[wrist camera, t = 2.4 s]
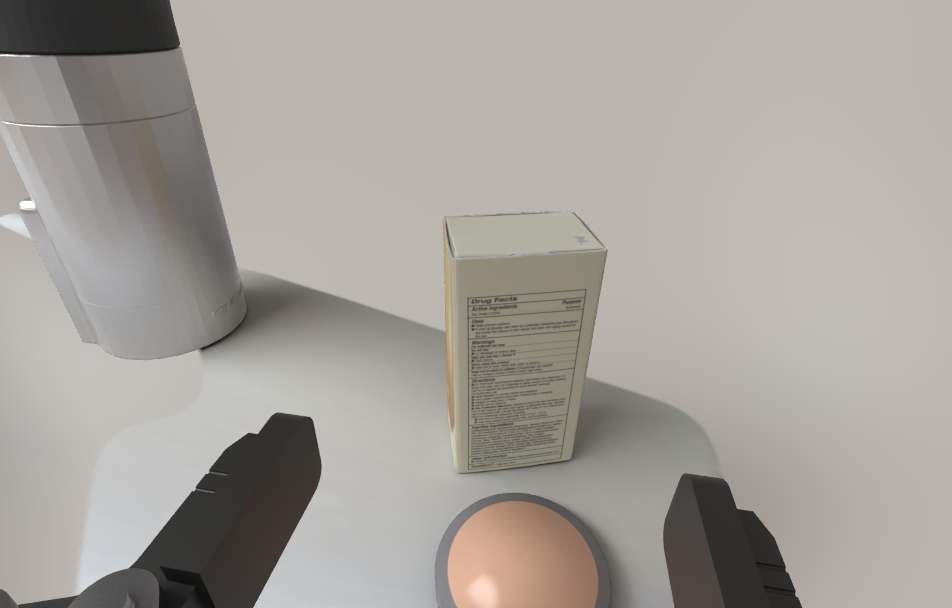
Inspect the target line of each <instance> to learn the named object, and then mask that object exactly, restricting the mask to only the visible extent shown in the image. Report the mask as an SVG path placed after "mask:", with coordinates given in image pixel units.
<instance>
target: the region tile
mask: <svg viewBox="0 0 952 608" xmlns="http://www.w3.org/2000/svg"><path fill="white" fill-rule="evenodd" d="M435 589H436V598H437V602H438V606H439V608H609V606H610V598H611V582H610V575H609V570H608V566H607V563H606V559H605V557H604V555H603V552H602V550H601V548H600V546H599V544H598V542H597V541H596V539H595V538H594V536H593V535H592V533H591V532H590V531H589V529H588V528H587V527H586V526H585V525H584V524H583V523H582V522H581V521H580V520H579V519H578V518H577V517H576V516H575V515H573V514H572V513H571V512H569V511H568V510H567V509H565V508H564V507H562V506H560V505H558V504H557V503H554V502H552V501H550V500H548V499H545V498H542V497H539V496H535V495H530V494H523V493H505V494H498V495H494V496H490V497H487V498H484V499H482V500H479V501H477V502H476V503H474V504H472V505H470V506H469V507H468V508H466V509H465V510H463V511H462V512H461V513H460V514H459V515H458V516H457V517H456V518H455V519H454V520H453V522H452V523H451V524H450V525H449V527H448V529H447V530H446V532H445V533H444V536H443V538H442V540H441V542H440V545H439V549H438V552H437V557H436V563H435Z"/></svg>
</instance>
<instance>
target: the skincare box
mask: <svg viewBox="0 0 952 608" xmlns="http://www.w3.org/2000/svg"><path fill="white" fill-rule="evenodd" d="M443 230H444V266H445V267H444V268H445V312H446V355H447V399H448V420H449V430H450V439H451V448H452V455H453V462H454V468H455V471H456V472H457V473H469V472H479V471H490V470H498V469H506V468H514V467H523V466H530V465H538V464H545V463H552V462H559V461H565V460H570V459H571V457H572V453H573V447H574V441H575V435H576V429H577V424H578V418H579V412H580V407H581V401H582V395H583V389H584V383H585V378H586V371H587V366H588V360H589V354H590V348H591V342H592V337H593V330H594V325H595V319H596V314H597V308H598V302H599V296H600V290H601V285H602V279H603V273H604V267H605V262H606V257H607V250H608V249H607V248H606V246H605V245H604V244H603V243H602V242H601V241H600V240H599V238H598V237H597V236H596V235H595V234H594V232H593V231H592V230H591V229H590V228H589V227H588V226H587V224H585V222H584V221H583V220H582V219H581V218H580V217H579V216H578V215H577V214H576V213H575V212H574V211H572V210H569V211H568V210H567V211H545V212H522V213H506V214H505V213H503V214H502V213H500V214H482V215H465V216H444V218H443Z"/></svg>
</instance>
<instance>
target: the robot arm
mask: <svg viewBox="0 0 952 608" xmlns="http://www.w3.org/2000/svg"><path fill="white" fill-rule="evenodd" d="M179 45H180V41H179V37H178V34H177V30H176V26H175V22H174V18H173V14H172V10H171V6H170V1H169V0H0V133H1V135H2V138H3V140H4V142H5V144H6V146H7V149H8V151H9V153H10V155H11V157H12V159H13V161H14V163H15V166H16V167H17V170H18V172H19V174H20V176H21V178H22V180H23V183H24V185H25V187H26V189H27V191H28V193H29V195H30V197H29V198H27V199H24V200H22V201H21V202H20V204H19V208H18V209H19V213H20V215H21V217H22V219H23V221H24V223H25V225H26V227H27V229H28V231H29V233H30V235H31V237H32V239H33V241H34V243H35V245H36V247H37V249H38V251H39V254H40V255H41V258H42V260H43V262H44V264H45V266H46V268H47V270H48V272H49V274H50V276H51V278H52V280H53V282H54V284H55V286H56V288H57V290H58V292H59V294H60V296H61V298H62V300H63V302H64V304H65V306H66V308H67V311H68V313H69V315H70V317H71V319H72V321H73V323H74V325H75V327H76V329H77V331H78V333H79V335H80V337H81V339H82V341H83V342H84V343H95V344H98V345H99V346H100V347H101V348H103V350H104V351H105V352H107V353H109V354H111V355H113V356H116V357H120V358H125V359H136V360H149V359H161V358H166V357H172V356H177V355H181V354H184V353H188V352H191V351H195V350H197V349H200V348H202V347H205V346H207V345H210V344H212V343H214V342H215V341H217V340H219V339H221V338H223V337H224V336H226V335H227V334H229V333H230V332H231V331H233V330H234V329H235V328H236V327H237V326H238V325H239V324H240V323H241V322H242V320H243V318H244V317H245V315H246V311H247V305H246V301H245V298H244V293H243V286H242V282H241V281H240V277H239V273H238V269H237V265H236V261H235V256H234V252H233V249H232V244H231V240H230V237H229V233H228V229H227V225H226V221H225V217H224V213H223V209H222V205H221V201H220V197H219V194H218V190H217V185H216V182H215V178H214V174H213V170H212V166H211V162H210V158H209V154H208V150H207V146H206V142H205V138H204V134H203V131H202V127H201V123H200V119H199V115H198V111H197V107H196V104H195V100H194V96H193V92H192V88H191V84H190V80H189V76H188V73H187V68H186V64H185V61H184V57H183V53H182V49H181V47H179ZM320 475H321V458H320V453H319V448H318V443H317V438H316V433H315V428H314V423H313V420H312V419H311V418H310V417H306V416H299V415H292V414H285V413H275V414H274V415H272V416H271V417H270V419H269V420H268V421H267V423H266V424H265V425H264V427H263V428H262V429H261V431H260V432H259V433H258V434H253V433H248V434H246V435H245V436H243V437H242V438H241V439H239V440H238V441H236V442H235V443H234V444H232V445H231V446H229V447H228V448H227V449H226V450H225V451H224V452H223V453H222V455H221V456H220V457H219V458H218V460H217V461H216V462H215V463H214V465H213V466H212V467H211V468H210V471H209V473H208V474H206V475H205V476H204V477H203V478H202V480H201V481H200V482H199V483H198V485H197V486H196V489H195V491H192V492H191V493H190V495H189V496H188V497H187V498H186V500H185V501H184V502H183V503H182V505H181V506H180V507H179V508H178V510H177V511H176V512H175V514H174V515H173V516H172V517H171V519H170V520H169V521H168V522H167V524H166V525H165V526H164V527H163V529H162V530H161V531H160V532H159V534H158V535H157V536H156V537H155V539H154V540H153V541H152V542H151V544H150V545H149V546H148V547H147V549H146V550H145V551H144V552H143V554H142V555H141V556H140V557H139V558H138V560H137V561H136V562H135V563H134V564H133V565H132V566H131V567H130V568H129V569H125V570H121V571H117V572H114V573H112V574H109V575H107V576H105V577H103V578H101V579H100V580H98V581H96V582H95V583H93V584H92V585H90V586H89V587H88V588H87V589H85V590H84V591H83V592H82V593H81V594H80V595H77V596H73V597H67V598H60V599H54V600H48V601H41V602H35V603H28V604H21V605H17V604H16V603H15V602H14V601H13V599H12V598H11V597H10V596H9V595H8V594H7V593H6V592H5V591H3V590H1V589H0V608H253V607H254V605H255V603H256V601H257V599H258V597H259V596H260V594H261V592H262V590H263V588H264V586H265V584H266V583H267V581H268V579H269V577H270V575H271V573H272V571H273V569H274V568H275V566H276V564H277V562H278V560H279V558H280V556H281V555H282V553H283V551H284V549H285V547H286V545H287V543H288V541H289V540H290V538H291V536H292V534H293V532H294V530H295V528H296V526H297V525H298V523H299V521H300V519H301V517H302V515H303V513H304V512H305V510H306V508H307V506H308V504H309V502H310V500H311V498H312V497H313V495H314V493H315V491H316V489H317V486H318V483H319V480H320ZM663 541H664V551H665V557H666V562H667V568H668V573H669V579H670V584H671V590H672V595H673V601H674V606H675V608H802V606H801V604H800V601H799V599H798V597H796V596H795V589H794V586H793V584H792V581H791V579H790V576H789V574H788V573H787V572H786V570H785V567H786V566H785V564H784V561H783V559H782V556H781V554H780V551H779V549H778V546H777V544H776V541H775V539H774V537H773V536H772V534H771V533H770V532H769V531H768V530H767V528H766V527H765V526H764V525H763V523H762V522H761V521H760V520H759V518H758V517H757V516H756V515H755V513H754V512H752V511H746V510H739V509H737V508H736V505H735V502H734V499H733V496H732V493H731V490H730V488H729V485H728V484H727V482H726V481H725V480H724V479H720V478H714V477H707V476H700V475H693V474H686V473H685V474H683V475H682V476H681V478H680V481H679V483H678V486H677V489H676V492H675V494H674V497H673V500H672V502H671V505H670V508H669V510H668V513H667V516H666V519H665V523H664V533H663Z"/></svg>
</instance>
